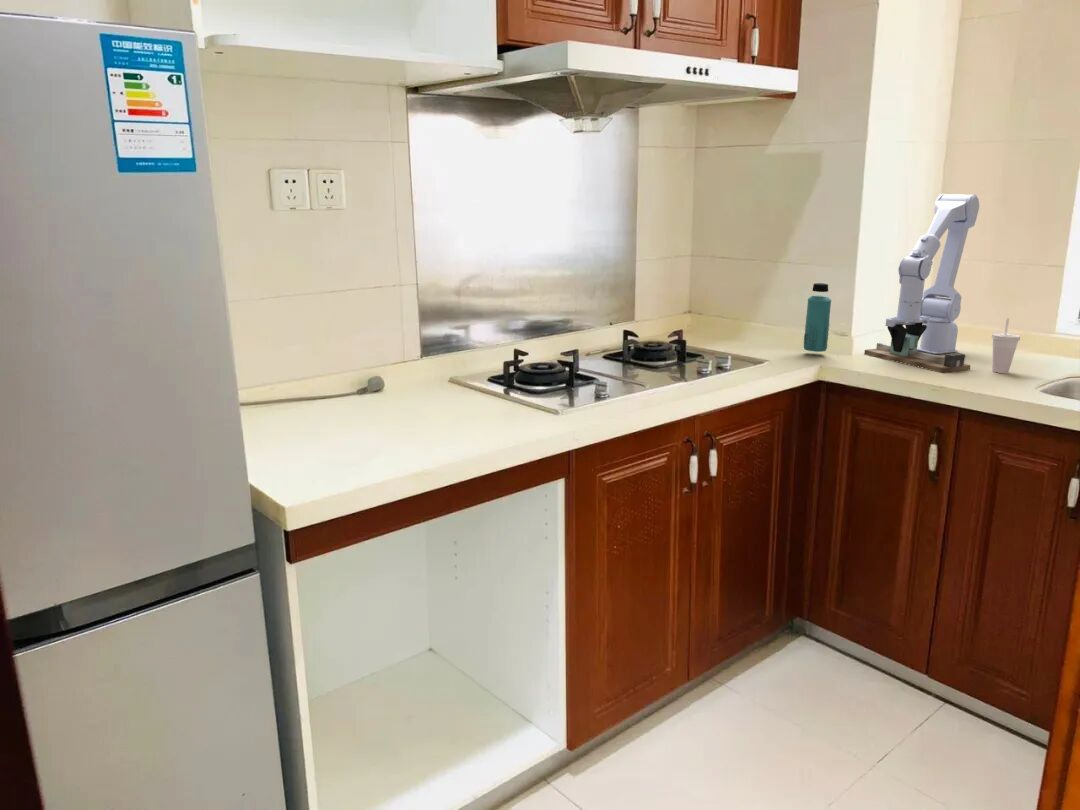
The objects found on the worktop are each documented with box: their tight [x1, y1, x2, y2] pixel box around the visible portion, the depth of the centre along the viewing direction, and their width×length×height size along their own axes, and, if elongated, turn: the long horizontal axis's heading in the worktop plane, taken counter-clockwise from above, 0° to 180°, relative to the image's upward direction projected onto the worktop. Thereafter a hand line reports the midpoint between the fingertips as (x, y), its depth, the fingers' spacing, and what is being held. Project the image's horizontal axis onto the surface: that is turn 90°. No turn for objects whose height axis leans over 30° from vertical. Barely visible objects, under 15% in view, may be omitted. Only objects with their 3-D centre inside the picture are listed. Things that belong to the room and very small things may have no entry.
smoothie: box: [991, 317, 1021, 374], centre depth 211 cm, size 6×6×14 cm
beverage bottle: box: [803, 282, 832, 353], centre depth 229 cm, size 6×7×20 cm
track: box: [863, 342, 972, 374], centre depth 223 cm, size 26×10×4 cm, turn 26°
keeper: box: [890, 334, 919, 356], centre depth 226 cm, size 5×4×5 cm
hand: (903, 350), depth 227 cm, fingers closed on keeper, 4 cm apart
